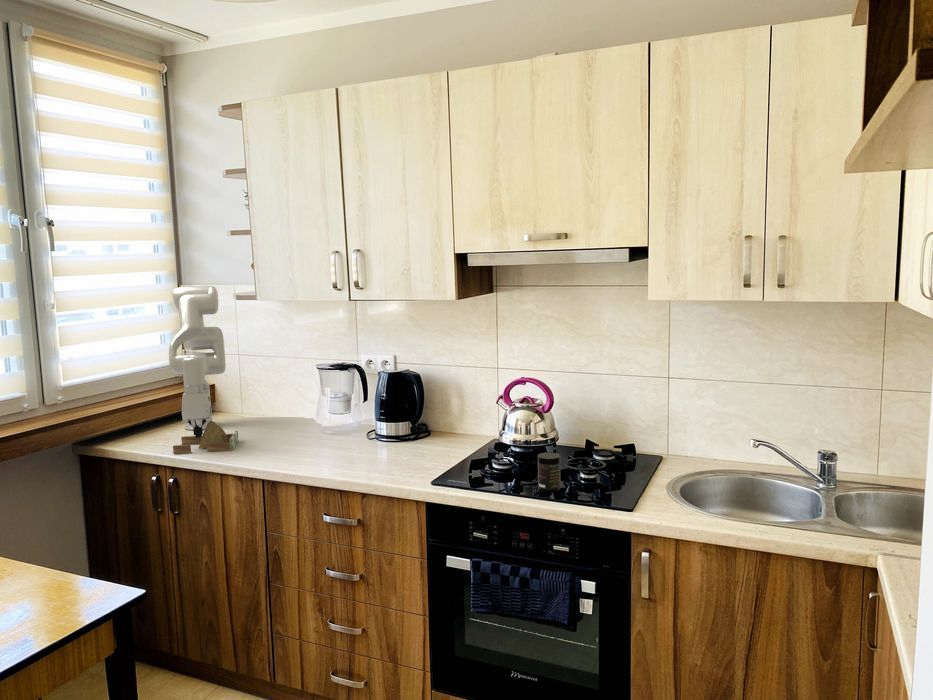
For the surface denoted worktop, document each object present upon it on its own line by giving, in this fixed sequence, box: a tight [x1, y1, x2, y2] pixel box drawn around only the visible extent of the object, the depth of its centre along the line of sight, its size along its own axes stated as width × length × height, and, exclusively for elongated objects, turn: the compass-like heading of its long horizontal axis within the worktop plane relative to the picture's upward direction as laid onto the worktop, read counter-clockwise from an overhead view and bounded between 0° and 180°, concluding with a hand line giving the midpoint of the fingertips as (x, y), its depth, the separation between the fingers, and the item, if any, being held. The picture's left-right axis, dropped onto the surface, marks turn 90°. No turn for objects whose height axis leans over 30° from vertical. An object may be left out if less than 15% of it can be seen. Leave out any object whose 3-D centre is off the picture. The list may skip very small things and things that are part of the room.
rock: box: [198, 420, 229, 449], centre depth 270 cm, size 11×9×10 cm
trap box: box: [172, 430, 239, 455], centre depth 273 cm, size 20×21×4 cm
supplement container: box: [537, 452, 561, 493], centre depth 213 cm, size 7×7×10 cm
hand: (198, 436), depth 269 cm, fingers closed
